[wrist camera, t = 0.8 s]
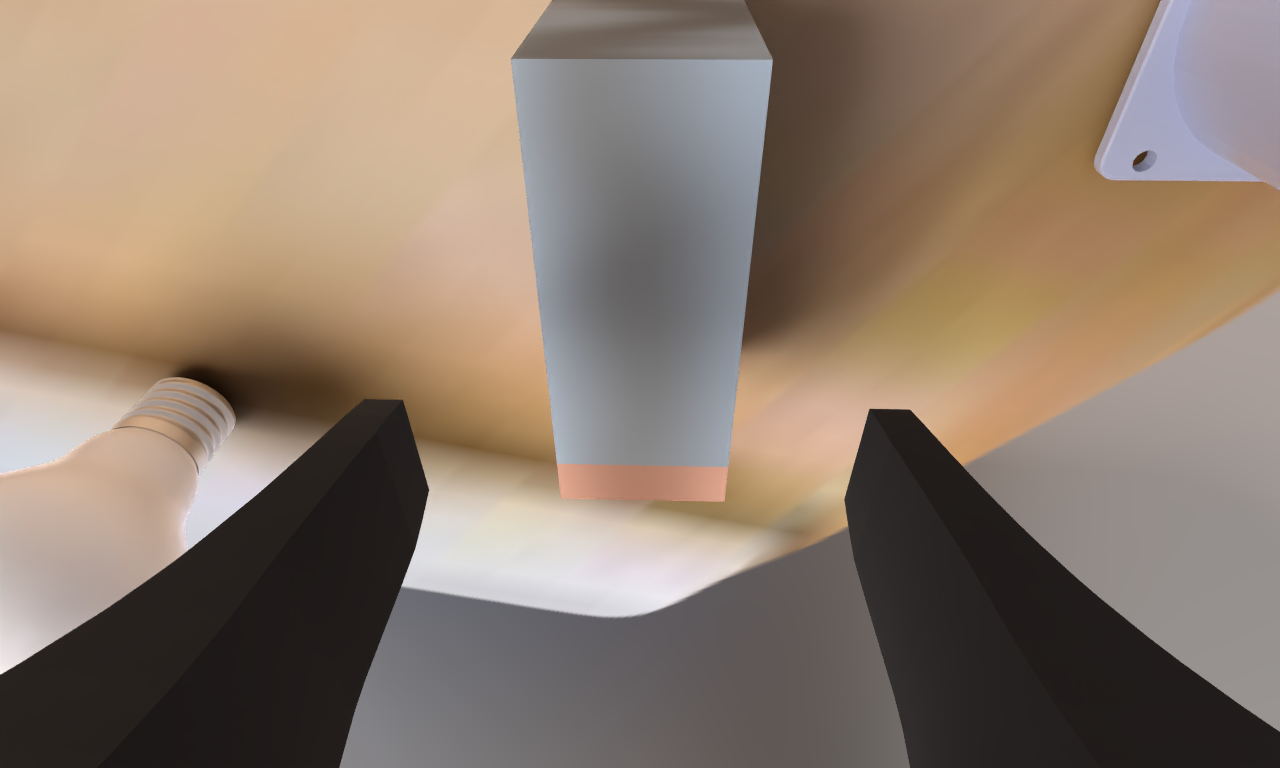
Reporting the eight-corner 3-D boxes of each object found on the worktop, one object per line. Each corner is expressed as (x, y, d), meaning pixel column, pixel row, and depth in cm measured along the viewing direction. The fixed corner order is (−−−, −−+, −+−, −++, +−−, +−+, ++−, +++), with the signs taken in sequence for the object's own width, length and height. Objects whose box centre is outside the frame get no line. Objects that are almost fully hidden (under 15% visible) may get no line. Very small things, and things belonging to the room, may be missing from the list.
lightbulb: (228, 484, 26) (9, 807, 17) (62, 373, 23) (-308, 702, 14) (339, 417, 23) (150, 753, 15) (171, 282, 20) (-196, 611, 12)
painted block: (739, -9, 15) (773, 59, 10) (711, 355, 21) (724, 501, 17) (559, -10, 15) (510, 58, 10) (584, 353, 21) (561, 498, 17)
